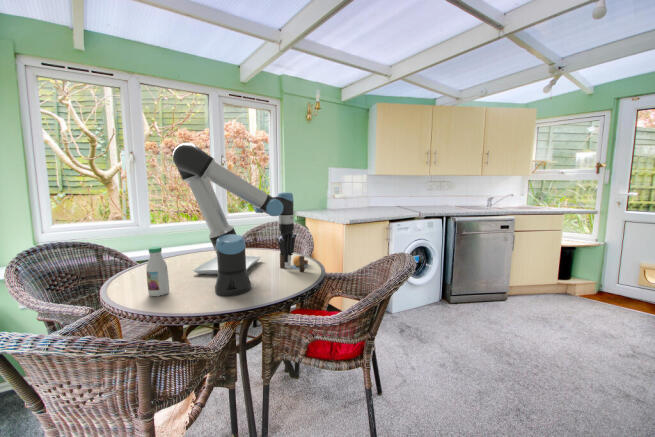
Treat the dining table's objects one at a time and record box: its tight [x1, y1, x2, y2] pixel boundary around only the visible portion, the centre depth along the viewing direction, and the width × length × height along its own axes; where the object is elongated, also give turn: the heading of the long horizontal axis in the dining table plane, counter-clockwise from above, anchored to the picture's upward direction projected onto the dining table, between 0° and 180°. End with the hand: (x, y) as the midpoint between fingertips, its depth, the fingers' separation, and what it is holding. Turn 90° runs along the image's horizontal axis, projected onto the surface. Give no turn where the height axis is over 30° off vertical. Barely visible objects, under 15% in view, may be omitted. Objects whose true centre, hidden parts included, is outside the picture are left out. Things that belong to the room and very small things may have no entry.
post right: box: [298, 255, 306, 273], centre depth 151 cm, size 3×3×8 cm
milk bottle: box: [145, 246, 170, 297], centre depth 123 cm, size 8×8×20 cm
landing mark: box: [290, 264, 309, 271], centre depth 160 cm, size 8×8×1 cm
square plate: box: [192, 255, 262, 275], centre depth 158 cm, size 27×27×4 cm
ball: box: [292, 255, 300, 267], centre depth 159 cm, size 6×6×6 cm
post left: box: [279, 252, 286, 269], centre depth 158 cm, size 3×3×8 cm
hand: (287, 267), depth 152 cm, fingers closed
